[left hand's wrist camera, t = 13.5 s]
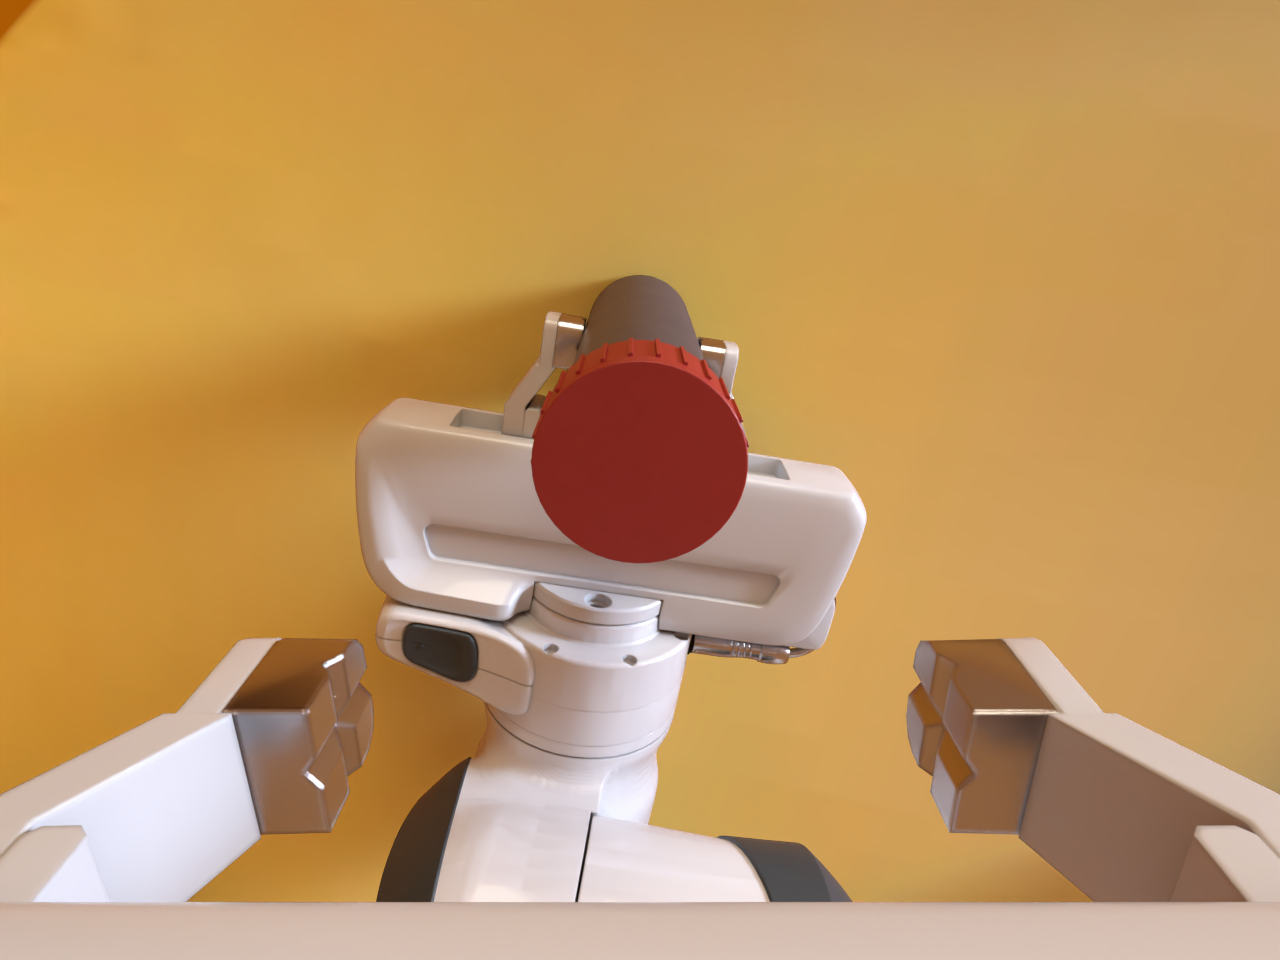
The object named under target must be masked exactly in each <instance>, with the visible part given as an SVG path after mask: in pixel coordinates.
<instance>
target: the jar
mask: <svg viewBox="0 0 1280 960" xmlns="http://www.w3.org/2000/svg"><path fill="white" fill-rule="evenodd" d="M629 338H633V340H651V341H655V339H660V342H663V343H667V344H670V345H673V346H676V347H678V348H680V346H683V347H685V351H687V352H689V353H691V354H692V355H694V356H695V357H697V358H698V359H700V360H701V361H702V360H703V359H704V357H703V354H702V351H701V349H700V346H699V343H698V340H697V337H696V334H695V331H694V328H693V326H692V323H691V320H690V317H689V314H688V311H687V308H686V306H685V304H684V302H683V300H682V298H681V297H680V296H679V294H678V293H677V292H676V291H675V290H674V289H673V288H672V287H671V286H670V285H668V284H667V283H665V282H663V281H662V280H659V279H657V278H654V277H650V276H644V275H634V276H628V277H624V278H621V279H619V280H617V281H615V282H613V283H612V284H610V285H609V286H607V287H606V288H605V289H604V290H603V291H602V292H601V293H600V295H599V296H598V297H597V299H596V301H595V303H594V304H593V307H592V310H591V312H590V315H589V318H588V321H587V324H586V327H585V330H584V333H583V336H582V339H581V342H580V345H579V348H578V351H577V354H576V357H575V360H574V363H573V365H574V364H575V363H576V362H577V361H578V360H579V358H580V355H582V354H584V355H585V356H586V355H587V354H589V353H590V352H592V351H594V350H596V349H599V348H601V347H603V344H604V343H608V345H609V344H613V343H616V342H622V341H628V340H629Z"/></svg>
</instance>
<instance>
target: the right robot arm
mask: <svg viewBox="0 0 1280 960" xmlns="http://www.w3.org/2000/svg"><path fill="white" fill-rule="evenodd" d="M585 325H586V318H585V317H579V316H574V315H569V314H563V313H559V312H551V311H549V312H548V314H547V315H546V319H545V324H544V328H543V336H542V344H541V352H540V356H539V357H538V359H537V360H536V361H535V362H534V364H533V365H532V366H531V368H530V369H529V370H528V371H527V373H526V374H525V375H524V376H523V378H522V379H521V380H520V382H519V383H518V384H517V385H516V387H515V388H514V389H513V391H512V392H511V394H510V396H509V398H508V399H507V401H506V403H505V407H504V413H499V412H492V411H486V410H480V409H474V408H468V407H461V406H455V405H449V404H443V403H436V402H430V401H424V400H418V399H412V398H399V399H396V400H394V401H393V402H391V403H390V404H389V405H387V406H386V407H385V408H383V409H382V410H381V411H379V412H378V413H377V414H376V415H375V416H374V417H373V418H372V419H371V420H370V421H369V422H368V423H367V424H366V425H365V426H364V428H363V429H362V431H361V433H360V435H359V437H358V441H357V445H356V458H355V488H356V507H357V519H358V529H359V537H360V545H361V551H362V556H363V560H364V563H365V566H366V569H367V571H368V573H369V575H370V577H371V579H372V580H373V581H374V583H375V584H376V585H377V587H379V588H380V589H381V590H382V591H383V592H384V593H385V594H387V596H386V599H385V601H384V603H383V606H382V609H381V612H380V615H379V618H378V622H377V626H376V643H377V646H378V648H379V649H380V651H381V652H382V653H384V654H385V655H386V656H388V657H390V658H392V659H394V660H396V661H398V662H401V663H403V664H405V665H408V666H410V667H413V668H415V669H418V670H420V671H422V672H425V673H427V674H430V675H432V676H434V677H436V678H439V679H441V680H443V681H445V682H448V683H450V684H452V685H454V686H456V687H458V688H460V689H462V690H464V691H466V692H468V693H470V694H472V695H474V696H476V697H477V698H479V699H481V700H483V701H484V703H485V709H486V714H487V728H486V730H485V732H484V734H483V736H482V738H481V740H480V742H479V745H478V748H477V752H476V756H475V758H474V759H471V758H470V757H469V758H467V759H465V760H464V761H462V762H461V763H459V764H458V765H456V766H455V767H454V768H453V769H451V770H450V771H449V772H448V773H447V774H445V775H444V776H443V777H442V778H441V779H440V780H439V781H438V782H437V783H436V784H435V785H434V786H432V787H431V788H430V789H429V790H428V791H427V792H426V793H425V794H424V795H423V796H422V797H421V798H420V799H419V800H418V801H417V803H416V804H415V805H414V807H413V808H412V809H411V811H410V812H409V814H408V816H407V817H406V819H405V821H404V822H403V824H402V826H401V828H400V830H399V832H398V834H397V836H396V839H395V841H394V843H393V846H392V848H391V851H390V854H389V856H388V859H387V862H386V865H385V868H384V871H383V875H382V879H381V882H380V886H379V891H378V895H377V901H376V902H852V900H851V899H850V898H849V896H848V895H847V893H846V892H845V891H844V889H843V888H842V887H841V886H840V884H839V883H838V882H837V881H836V879H835V878H834V877H833V876H832V875H831V874H830V872H829V871H828V870H827V869H826V868H825V867H824V865H823V864H822V863H821V862H820V861H819V860H818V859H817V858H816V857H815V856H814V855H813V854H812V853H811V852H810V851H809V850H808V849H807V848H806V847H805V846H803V845H802V844H799V843H794V842H783V841H772V840H762V839H752V838H742V837H733V836H719V837H717V838H715V837H709V836H704V835H699V834H694V833H689V832H683V831H678V830H673V829H668V828H663V827H658V826H652V825H648V822H649V819H650V815H651V811H652V807H653V803H654V799H655V795H656V789H657V783H658V767H657V759H656V752H657V749H658V747H659V746H660V744H661V743H662V741H663V740H664V738H665V736H666V735H667V733H668V730H669V728H670V726H671V723H672V720H673V715H674V711H675V707H676V703H677V698H678V694H679V689H680V685H681V681H682V676H683V672H684V668H685V664H686V657H687V654H689V653H697V654H704V655H710V656H717V657H731V658H735V657H737V658H741V657H742V658H748V659H754V660H757V661H758V662H761V663H766V664H786V663H787V662H788V659H789V658H792V657H799V656H803V655H806V654H808V653H810V652H812V651H813V650H816V649H819V648H820V647H821V646H822V645H823V643H824V642H825V640H826V638H827V635H828V632H829V629H830V626H831V622H832V619H833V616H834V612H835V608H836V597H835V596H836V594H837V592H838V590H839V588H840V586H841V584H842V582H843V580H844V578H845V576H846V574H847V571H848V569H849V567H850V565H851V562H852V560H853V558H854V555H855V553H856V550H857V548H858V545H859V542H860V540H861V537H862V534H863V531H864V528H865V524H866V511H865V508H864V505H863V503H862V500H861V499H860V497H859V495H858V493H857V491H856V489H855V488H854V487H853V485H852V484H851V482H850V481H849V480H848V479H847V477H846V476H845V475H844V473H843V472H842V471H841V470H839V469H838V468H836V467H833V466H828V465H821V464H815V463H809V462H803V461H796V460H790V459H784V458H778V457H772V456H765V455H759V454H753V453H748V473H747V479H746V484H745V488H744V491H743V494H742V497H741V499H740V501H739V503H738V506H737V508H736V509H735V511H734V512H733V514H732V516H731V517H730V519H729V520H728V521H727V522H726V524H725V525H724V526H723V527H722V528H721V530H719V531H718V532H717V533H716V534H715V535H714V536H713V537H712V538H711V539H709V540H708V541H707V542H705V543H704V544H702V545H701V546H700V547H698V548H696V549H694V550H692V551H690V552H689V553H686V554H684V555H681V556H679V557H676V558H673V559H669V560H665V561H660V562H653V563H626V562H619V561H615V560H610V559H607V558H604V557H601V556H598V555H595V554H593V553H591V552H589V551H587V550H585V549H583V548H582V547H580V546H579V545H577V544H575V543H574V542H573V541H571V540H570V539H569V538H568V537H566V536H565V535H564V534H563V533H562V532H561V531H560V530H559V529H558V528H557V527H556V526H555V525H554V523H553V522H552V521H551V519H550V518H549V517H548V515H547V514H546V512H545V510H544V508H543V507H542V505H541V503H540V501H539V498H538V495H537V493H536V490H535V486H534V482H533V477H532V467H531V458H532V447H533V442H534V439H532V434H533V432H534V429H535V427H536V425H537V422H538V420H539V417H540V415H541V414H540V411H541V409H542V406H543V404H544V401H545V399H546V398H545V396H543V395H538V394H536V393H537V392H538V390H539V389H540V388H541V387H542V385H543V384H544V383H545V381H546V380H547V379H548V378H549V376H550V375H551V374H552V373H553V371H554V370H555V369H556V367H557V368H564V369H569V368H570V367H571V366H572V365H573V363H574V360H575V357H576V354H577V351H578V348H579V345H580V342H581V339H582V336H583V333H584V330H585ZM698 343H699V346H700V349H701V351H702V354H703V357H704V360H705V361H706V362H707V365H708V367H709V368H710V369H711V370H712V371H713V372H714V373H715V375H716V376H717V377H718V378H720V377H722V378H723V380H724V382H725V385H726V387H727V390H728V392H729V395H730V397H731V398H730V400H731V399H733V395H732V393H731V390H732V385H733V380H734V376H735V371H736V367H737V362H738V354H739V348H738V346H737V345H736V343H734V342H728V341H723V340H716V339H710V338H703V337H699V338H698ZM740 424H741V426H742V429H743V431H744V428H743V425H742V422H741V423H740ZM744 434H745V431H744ZM745 436H746V434H745ZM746 439H747V437H746ZM747 441H748V440H747ZM748 445H749V443H748ZM747 449H748V448H747ZM790 647H796V648H790Z"/></svg>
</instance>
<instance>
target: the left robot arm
mask: <svg viewBox="0 0 1280 960" xmlns="http://www.w3.org/2000/svg"><path fill="white" fill-rule="evenodd" d="M366 668H367V665H366V660H365V655H364V650H363V646H362V645H361V644H360V643H359V642H358V641H357V640H353V639H305V638H284V639H281V638H246V639H243V640H239V641H238V642H237V643H236V644H235V645H234V646H233V647H232V649H231V650H230V651H229V652H228V653H227V654H226V656H225V657H224V658H223V659H222V660H221V661H220V662H219V664H218V665H217V666H216V667H215V668H214V669H213V671H212V672H211V673H210V674H209V675H208V676H207V678H206V679H205V680H204V681H203V682H202V683H201V684H200V686H199V687H198V688H197V689H196V690H195V691H194V693H193V694H192V695H191V696H190V697H189V698H188V700H187V701H186V702H185V703H184V704H183V705H182V707H181V708H180V709H179V710H178V711H177V712H176V713H163V714H161V715H159V716H157V717H155V718H153V719H151V720H149V721H147V722H145V723H143V724H141V725H139V726H137V727H135V728H133V729H131V730H129V731H127V732H125V733H123V734H121V735H119V736H117V737H115V738H113V739H111V740H109V741H107V742H105V743H103V744H101V745H99V746H97V747H95V748H93V749H91V750H89V751H87V752H85V753H83V754H81V755H79V756H77V757H75V758H73V759H71V760H69V761H67V762H65V763H63V764H61V765H59V766H57V767H55V768H52V769H50V770H48V771H46V772H44V773H42V774H40V775H38V776H36V777H34V778H32V779H30V780H28V781H26V782H24V783H22V784H20V785H18V786H16V787H14V788H12V789H10V790H8V791H6V792H4V793H2V794H0V960H1280V795H1279V794H1277V793H1275V792H1273V791H1271V790H1269V789H1267V788H1265V787H1263V786H1261V785H1259V784H1257V783H1255V782H1253V781H1251V780H1249V779H1247V778H1245V777H1243V776H1241V775H1239V774H1237V773H1235V772H1233V771H1231V770H1229V769H1227V768H1225V767H1223V766H1221V765H1219V764H1217V763H1215V762H1213V761H1211V760H1209V759H1207V758H1205V757H1203V756H1201V755H1199V754H1197V753H1195V752H1193V751H1191V750H1189V749H1187V748H1185V747H1183V746H1181V745H1179V744H1177V743H1175V742H1173V741H1171V740H1169V739H1167V738H1165V737H1163V736H1161V735H1159V734H1157V733H1155V732H1153V731H1151V730H1149V729H1147V728H1145V727H1143V726H1141V725H1139V724H1137V723H1135V722H1133V721H1131V720H1129V719H1127V718H1125V717H1123V716H1121V715H1119V714H1117V713H1104V712H1103V711H1102V710H1101V709H1100V708H1099V707H1098V705H1097V704H1096V703H1095V702H1094V701H1093V700H1092V698H1091V697H1090V696H1089V695H1088V694H1087V693H1086V691H1085V690H1084V689H1083V688H1082V687H1081V686H1080V685H1079V683H1078V682H1077V681H1076V680H1075V679H1074V678H1073V676H1072V675H1071V674H1070V673H1069V672H1068V671H1067V669H1066V668H1065V667H1064V666H1063V665H1062V664H1061V663H1060V661H1059V660H1058V659H1057V658H1056V657H1055V656H1054V654H1053V653H1052V652H1051V651H1050V650H1049V649H1048V647H1047V646H1046V645H1045V644H1044V643H1043V642H1042V641H1040V640H1038V639H1036V638H1034V637H1029V638H1001V639H980V640H932V641H920V643H919V645H918V647H917V650H916V653H915V659H914V665H913V668H914V669H915V671H916V673H917V675H918V677H919V679H920V681H921V683H920V684H919V685H918V686H917V687H916V688H915V689H914V690H913V691H912V692H911V693H910V694H909V697H908V705H907V714H906V719H907V732H908V739H909V743H910V747H911V750H912V753H913V755H914V758H915V760H916V762H917V764H918V766H919V767H920V768H922V769H923V770H924V771H926V772H927V773H929V774H930V775H931V776H933V779H932V785H931V791H930V792H931V794H932V797H933V799H934V801H935V803H936V805H937V807H938V809H939V811H940V813H941V815H942V818H943V820H944V822H945V824H946V826H947V828H948V830H949V832H950V833H984V834H1019V838H1020V839H1021V840H1022V841H1023V842H1024V843H1026V844H1027V845H1028V846H1029V847H1030V848H1032V849H1033V850H1034V851H1035V852H1036V853H1037V854H1039V855H1040V856H1041V857H1042V858H1043V859H1044V860H1046V861H1047V862H1048V863H1049V864H1050V865H1052V866H1053V867H1054V868H1055V869H1056V870H1057V871H1059V872H1060V873H1061V874H1062V875H1063V876H1065V877H1066V878H1067V879H1068V880H1069V881H1070V882H1072V883H1073V884H1074V885H1075V886H1076V887H1077V888H1079V889H1080V890H1081V891H1082V892H1083V893H1085V894H1086V895H1087V896H1088V897H1089V898H1090V899H1092V900H1093V901H1094V902H186V901H187V900H189V899H190V898H191V897H192V896H193V895H195V894H196V893H197V892H198V891H199V890H200V889H202V888H203V887H204V886H205V885H206V884H208V883H209V882H210V881H211V880H212V879H213V878H215V877H216V876H217V875H218V874H219V873H220V872H222V871H223V870H224V869H225V868H226V867H228V866H229V865H230V864H231V863H232V862H233V861H235V860H236V859H237V858H238V857H239V856H241V855H242V854H243V853H244V852H245V851H246V850H248V849H249V848H250V847H251V846H252V845H254V844H255V843H256V842H257V841H258V840H259V839H261V835H260V834H295V833H330V832H331V830H332V828H333V826H334V824H335V822H336V820H337V818H338V816H339V813H340V811H341V809H342V807H343V805H344V803H345V801H346V799H347V797H348V794H349V792H350V791H349V785H348V779H347V776H349V775H350V774H351V773H353V772H354V771H356V770H357V769H358V768H360V767H361V766H362V764H363V762H364V760H365V758H366V755H367V753H368V751H369V747H370V742H371V737H372V732H373V704H372V697H371V694H370V693H369V692H368V691H367V690H366V689H365V688H364V687H363V686H362V685H361V684H360V683H359V681H360V679H361V677H362V675H363V673H364V671H365V669H366Z"/></svg>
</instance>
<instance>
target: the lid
mask: <svg viewBox="0 0 1280 960" xmlns="http://www.w3.org/2000/svg"><path fill="white" fill-rule="evenodd" d="M730 398H731V397H730V395H729V392H728V390H727V387H726V385H725V382H724V380H723V378H722V377H720V378H718V377H717V376H716V375H715V373H714V372H713V371H712V370H711V369H710V368H709V367H708V365H707V362H706V361H705V360H704V359H703V360H702V361H701V360H700V359H698V358H697V357H695V356H694V355H692V354H691V353H689V352H687V351H685V347H683V346H680V348H678V347H676V346H673V345H670V344H667V343H663V342H660V339H655V341H651V340H633V338H629V340H628V341H622V342H616V343H613V344H609V345H608V343H604V344H603V347H601V348H599V349H596V350H594V351H592V352H590V353H589V354H587V355H586V356H585V355H584V354H582V355H580V358H579V360H578V361H577V362H576V363H575V364H574V365H572V366H571V367H570V368H569V369H568V370H567V371H564V370H563V371H562V373H561V375H560V377H559V380H558V383H557V384H556V386H555V387H554V389H553V391H552V392H551V391H549V392H548V394H547V397H546V399H545V401H544V404H543V406H542V409H541V411H540V414H541V415H540V417H539V420H538V422H537V425H536V427H535V429H534V432H533V434H532V439H534V442H533V447H532V458H531V467H532V477H533V482H534V486H535V490H536V493H537V495H538V498H539V501H540V503H541V505H542V507H543V508H544V510H545V512H546V514H547V515H548V517H549V518H550V519H551V521H552V522H553V523H554V525H555V526H556V527H557V528H558V529H559V530H560V531H561V532H562V533H563V534H564V535H565V536H566V537H568V538H569V539H570V540H571V541H573V542H574V543H575V544H577V545H579V546H580V547H582V548H583V549H585V550H587V551H589V552H591V553H593V554H595V555H598V556H601V557H604V558H607V559H610V560H615V561H619V562H626V563H653V562H660V561H665V560H669V559H673V558H676V557H679V556H681V555H684V554H686V553H689V552H690V551H692V550H694V549H696V548H698V547H700V546H701V545H702V544H704V543H705V542H707V541H708V540H709V539H711V538H712V537H713V536H714V535H715V534H716V533H717V532H718V531H719V530H721V528H722V527H723V526H724V525H725V524H726V522H727V521H728V520H729V519H730V517H731V516H732V514H733V512H734V511H735V509H736V508H737V506H738V503H739V501H740V499H741V497H742V494H743V491H744V488H745V484H746V479H747V473H748V451H747V448H748V447H749V445H748V441H747V439H746V436H745V434H744V431H743V429H742V426H741V424H740V423H741V422H743V420H742V417H741V415H740V412H739V410H738V408H737V405H736V403H735V400H734V398H733V399H731V400H730Z"/></svg>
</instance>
